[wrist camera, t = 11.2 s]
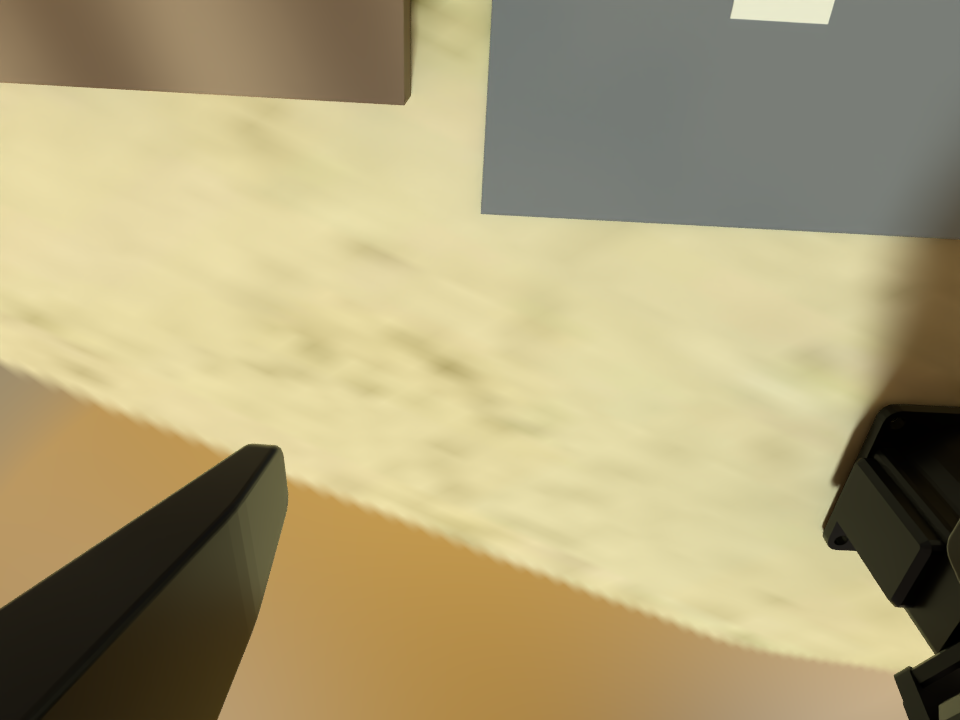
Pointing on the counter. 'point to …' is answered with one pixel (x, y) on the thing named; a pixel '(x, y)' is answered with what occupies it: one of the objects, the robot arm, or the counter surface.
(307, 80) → the walnut pad
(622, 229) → the counter surface
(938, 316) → the counter surface
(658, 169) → the tile
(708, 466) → the counter surface
